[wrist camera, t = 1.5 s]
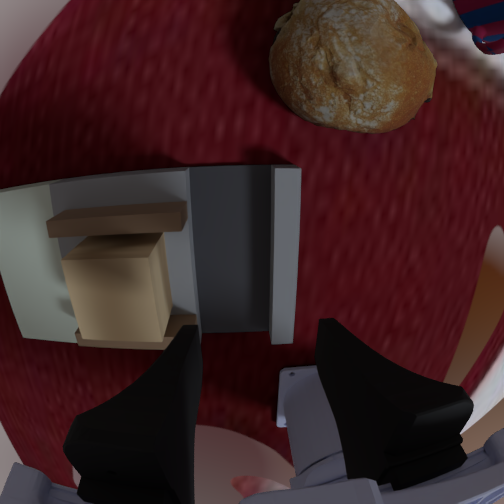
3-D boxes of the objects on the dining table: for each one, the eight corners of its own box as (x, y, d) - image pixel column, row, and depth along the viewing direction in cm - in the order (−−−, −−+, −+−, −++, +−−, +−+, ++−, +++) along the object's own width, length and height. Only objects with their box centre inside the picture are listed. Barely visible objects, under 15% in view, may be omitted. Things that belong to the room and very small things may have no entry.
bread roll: (304, 5, 18) (272, -53, 11) (438, 39, 16) (462, -14, 8) (273, 118, 22) (225, 96, 15) (411, 161, 19) (434, 156, 12)
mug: (511, 23, 15) (562, 16, 9) (476, 81, 17) (537, 79, 11) (465, -33, 13) (513, -54, 7) (421, 16, 16) (478, -8, 9)
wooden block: (163, 231, 18) (148, 257, 15) (172, 304, 20) (162, 342, 17) (88, 235, 18) (60, 260, 14) (103, 304, 20) (82, 338, 16)
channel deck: (294, 164, 19) (311, 174, 15) (288, 327, 24) (298, 366, 20) (-1, 189, 18) (-38, 204, 14) (33, 324, 23) (9, 354, 18)
